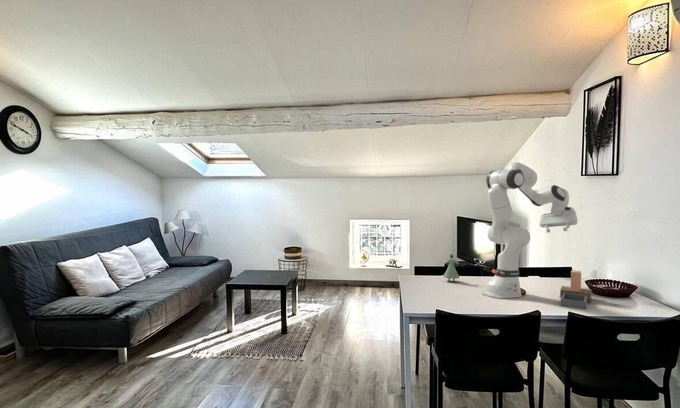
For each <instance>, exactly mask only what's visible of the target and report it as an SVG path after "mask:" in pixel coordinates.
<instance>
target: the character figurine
mask: <svg viewBox="0 0 680 408" xmlns="http://www.w3.org/2000/svg"><path fill="white" fill-rule="evenodd" d="M449 257H450V258H448V259H447V260H446V261H445V262H444V263H442V264H441V266H442V265H444V264H448V266H447V269H446V271H445V272H444V274H443V278H444V279H447V282H448V281H450V282H451V280H452V282H453V281H456V280H457V279H460V275H459V273H458V272H457V270H456V266H455V264H457V265H460V267H461V268H464V265H462V264H461V263H459V261H456V259H455V258H454V255H453V254H450V255H449ZM455 279H456V280H455Z"/></svg>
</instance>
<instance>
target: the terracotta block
mask: <svg viewBox="0 0 680 408" xmlns="http://www.w3.org/2000/svg"><path fill="white" fill-rule="evenodd" d="M570 287H571V290H574V291H581V288H582V270H574V269H571V271H570Z"/></svg>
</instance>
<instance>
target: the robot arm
mask: <svg viewBox="0 0 680 408" xmlns="http://www.w3.org/2000/svg"><path fill="white" fill-rule="evenodd" d="M485 180H486V184H487V188H488V190H487V202H488V206H489V211H490V214H491V219H492V224H491V226H489V229H488V231H487V237H488V240H489V241H490V242H493V243H495V244H497V245H505V247H504V250H503V251H501V252H500V253H498V255H497V268H496V269H494V268H493V269H492V270H491V272H492V273H493V274H494V276H492V277H491V279H490V280H488V282H486V284H485V290H481V294H482V295H484V296H488V297H490V298H494V299H511V298H512V299H513V298H522V297H523V295H522V293H521V284H520V283H521V282H520V280H519V279H520V278H519V276H520V269H519V263H520V262H519V258H520V254H521V252H522V250H523V249H524V248H525V247H526V246H527V245H528V244H530V241H531V234H530V232H529V230H528V229H526V228H522V227H520V226H511V225H510V224H509V221H510V220H512V218H513V216H514V211H513V209H512V206H511V201H510V199H509V196H508V190H510V189H512V190H514V189H515V190H516V189H518V190H519V191H520V192H521V193H522V194H523V195H524V196H526V197H527V198H528V199H529V201H530V203H531V204H533V205H534V206H536V207H541V206H545V205H546V204H547V205H548V204H552V205H551V207H550V213H549V212H547V213H543V214H542V215H540V219H539V221H538V223H539V224H538V225H539V226H540V227H541V228H545V229H546V233H551V230H550V228H554V227H563V231H564V232H568V229H569V228H571V226H575V225H578V216H577V212H576V210H575V209H574V208H573V206H572V207H571V206H569V202H570V194H569V192H568V191H567V189H565V188H563V187H560V186H558V185H556V184H553V185H550V186H546V187H544V188H543V187H542V188H541V189H536V190H535V189H533V187H534V186H535V185H537V181H538V174H537V172H536V171H535V170H534V169H533V168H531V167H529V166H528V165H525V164H523V163H520V162H517V161H516V162H511V164H509V165H508V167H507V169H498V170H497V169H495V170H491V171H489V172H488V173H487V175H486V178H485Z"/></svg>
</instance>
